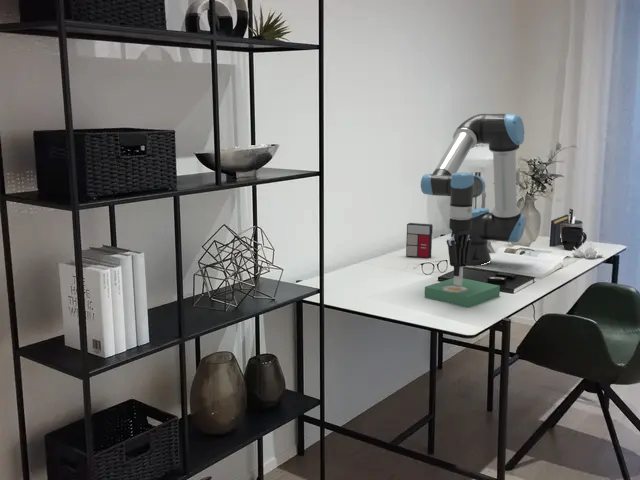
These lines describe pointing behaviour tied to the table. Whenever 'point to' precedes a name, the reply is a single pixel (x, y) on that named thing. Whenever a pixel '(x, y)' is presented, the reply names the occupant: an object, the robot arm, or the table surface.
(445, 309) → the table surface
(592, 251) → the lotus flower
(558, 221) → the dark blue book
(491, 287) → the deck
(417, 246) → the grey and red block
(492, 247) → the eiffel tower
